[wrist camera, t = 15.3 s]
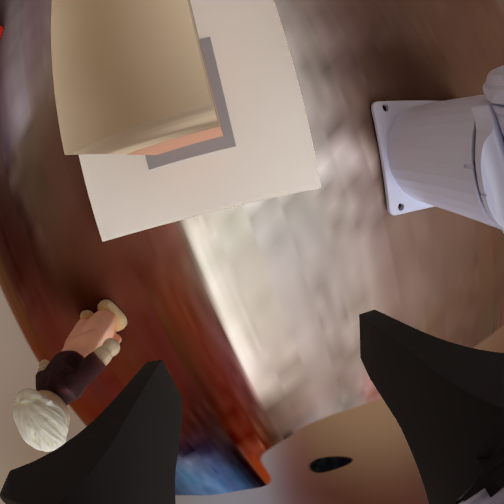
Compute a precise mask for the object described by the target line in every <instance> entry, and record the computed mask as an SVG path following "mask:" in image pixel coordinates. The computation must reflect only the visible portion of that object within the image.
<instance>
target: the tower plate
mask: <svg viewBox="0 0 504 504" xmlns="http://www.w3.org/2000/svg"><path fill="white" fill-rule="evenodd" d="M190 3H191V6H192V11H193V15H194V19H195V24H196V28H197V32H198V36H199V41H200V45H201V49H202V53H203V57H204V61H205V65H206V69H207V73H208V77H209V81H210V85H211V89H212V93H213V97H214V101H215V105H216V109H217V113H218V117H219V121H220V125H221V129H222V133H223V136H221V137H217V138H214V139H210V140H206V141H202V142H199V143H195V144H192V145H188V146H185V147H181V148H178V149H175V150H171V151H168V152H165V153H162V154H159V155H127V154H82V155H79V158H80V163H81V167H82V171H83V176H84V180H85V184H86V188H87V191H88V195H89V199H90V202H91V206H92V209H93V213H94V216H95V220H96V223H97V226H98V229H99V232H100V236H101V239H102V242H104V241H107V240H111V239H114V238H118V237H121V236H124V235H128V234H131V233H135V232H139V231H142V230H146V229H149V228H153V227H157V226H160V225H164V224H168V223H171V222H175V221H179V220H183V219H187V218H191V217H195V216H199V215H202V214H206V213H211V212H215V211H219V210H223V209H227V208H231V207H235V206H240V205H244V204H248V203H253V202H257V201H261V200H266V199H270V198H275V197H279V196H284V195H289V194H293V193H298V192H303V191H308V190H313V189H318V188H321V183H320V178H319V172H318V167H317V162H316V157H315V152H314V147H313V142H312V138H311V133H310V129H309V124H308V120H307V115H306V111H305V107H304V103H303V99H302V95H301V91H300V87H299V83H298V79H297V75H296V71H295V68H294V64H293V60H292V57H291V53H290V50H289V46H288V43H287V40H286V36H285V33H284V30H283V27H282V23H281V20H280V17H279V14H278V11H277V8H276V5H275V2H274V0H190Z"/></svg>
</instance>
